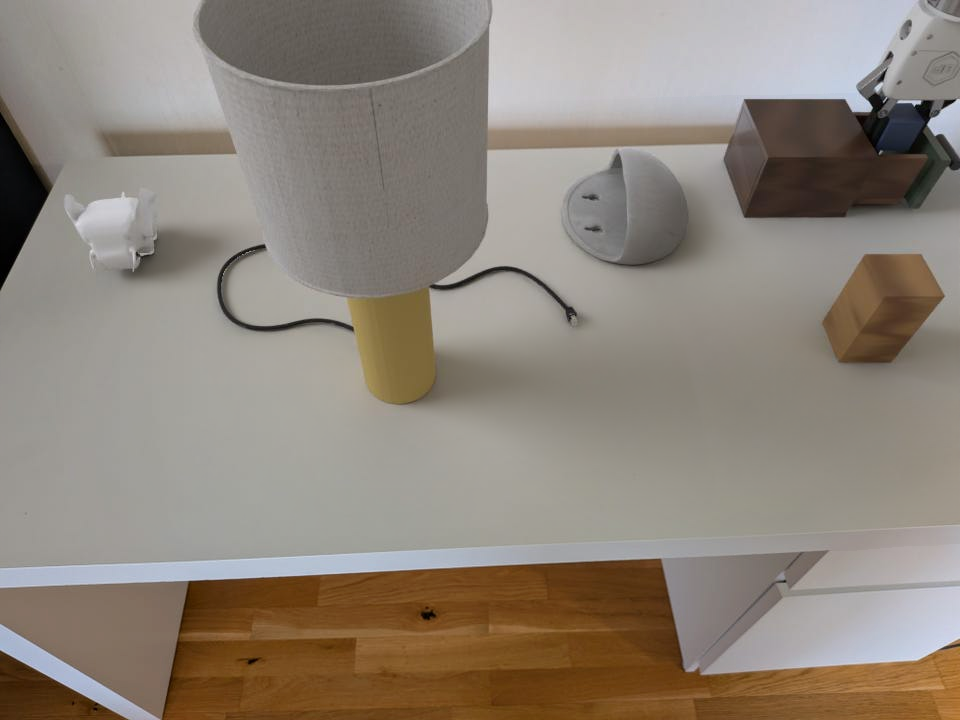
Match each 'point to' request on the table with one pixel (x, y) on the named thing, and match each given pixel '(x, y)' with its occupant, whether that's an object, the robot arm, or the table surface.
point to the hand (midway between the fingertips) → (888, 137)
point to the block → (900, 128)
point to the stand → (881, 307)
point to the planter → (627, 209)
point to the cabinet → (798, 157)
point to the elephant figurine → (116, 228)
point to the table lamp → (361, 157)
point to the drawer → (907, 170)
